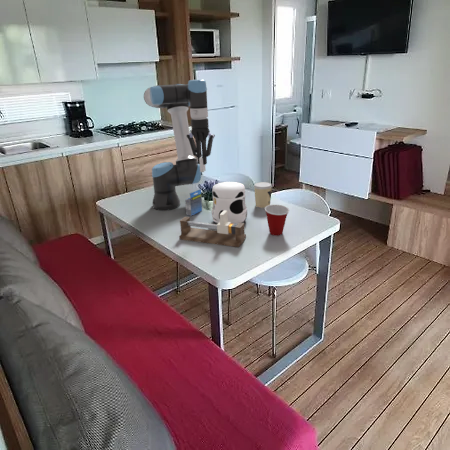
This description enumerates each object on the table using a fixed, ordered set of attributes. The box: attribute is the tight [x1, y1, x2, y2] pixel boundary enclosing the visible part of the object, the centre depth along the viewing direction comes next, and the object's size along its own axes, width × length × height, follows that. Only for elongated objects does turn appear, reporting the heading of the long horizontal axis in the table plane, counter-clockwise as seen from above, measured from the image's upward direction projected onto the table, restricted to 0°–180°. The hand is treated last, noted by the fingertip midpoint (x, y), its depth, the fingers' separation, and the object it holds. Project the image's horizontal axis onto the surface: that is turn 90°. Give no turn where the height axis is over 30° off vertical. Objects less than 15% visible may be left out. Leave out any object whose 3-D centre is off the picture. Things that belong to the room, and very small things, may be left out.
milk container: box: [211, 181, 248, 224], centre depth 175 cm, size 17×17×18 cm
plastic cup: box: [264, 204, 290, 237], centre depth 162 cm, size 11×11×12 cm
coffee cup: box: [253, 181, 273, 209], centre depth 194 cm, size 9×9×12 cm
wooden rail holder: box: [178, 216, 247, 248], centre depth 160 cm, size 28×10×8 cm, turn 69°
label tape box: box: [185, 189, 203, 217], centre depth 189 cm, size 9×4×12 cm, turn 144°
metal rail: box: [187, 220, 237, 234], centre depth 160 cm, size 26×4×4 cm, turn 69°
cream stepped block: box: [216, 210, 231, 234], centre depth 157 cm, size 5×5×9 cm
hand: (202, 171), depth 166 cm, fingers closed
